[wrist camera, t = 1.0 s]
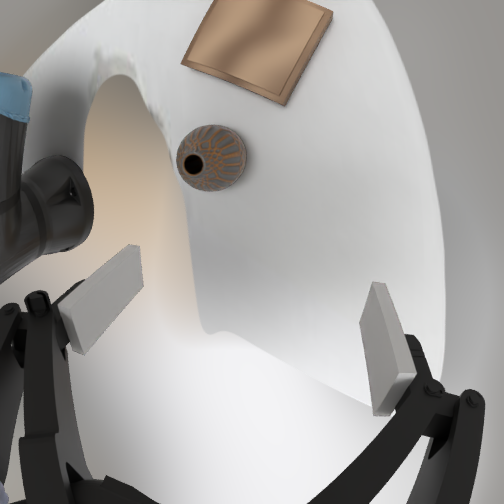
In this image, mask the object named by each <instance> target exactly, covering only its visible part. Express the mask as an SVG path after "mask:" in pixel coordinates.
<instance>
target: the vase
mask: <svg viewBox="0 0 504 504" xmlns="http://www.w3.org/2000/svg"><path fill="white" fill-rule="evenodd" d="M176 162H177V168H178V171H179V173H180V175H181V177H182V178H183V180H184V181H185V182H186V183H187V184H189V185H190V186H192V187H193V188H195V189H198V190H201V191H218V190H222V189H225V188H227V187H228V186H230V185H231V184H233V183H234V182H235V181H236V180H237V179H238V178H239V177H240V175H241V174H242V172H243V170H244V167H245V164H246V150H245V146H244V144H243V142H242V140H241V139H240V137H239V136H238V135H237V134H236V133H235V132H234V131H232V130H231V129H229V128H226V127H223V126H219V125H206V126H202V127H199V128H197V129H195V130H193V131H192V132H190V133H189V134H188V135H187V136H186V137H185V138H184V139H183V141H182V142H181V144H180V146H179V148H178V151H177V157H176Z"/></svg>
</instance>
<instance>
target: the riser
mask: <svg viewBox="0 0 504 504" xmlns="http://www.w3.org/2000/svg"><path fill="white" fill-rule="evenodd" d="M332 17H333V11H331V10H329V9H327V8H324V7H322V6H320V5H317V4H315V3H312V2H310V1H307V0H214V1H213V2H212V4H211V6H210V8H209V9H208V11H207V13H206V15H205V17H204V18H203V20H202V22H201V24H200V26H199V28H198V30H197V32H196V33H195V35H194V37H193V39H192V41H191V43H190V45H189V47H188V49H187V51H186V53H185V55H184V58H183V60H182V62H181V64H182V65H184V66H187V67H190V68H193V69H196V70H198V71H201V72H204V73H207V74H210V75H212V76H215V77H218V78H220V79H223V80H225V81H228V82H230V83H233V84H235V85H238V86H240V87H243V88H245V89H247V90H250V91H252V92H254V93H257V94H259V95H261V96H263V97H266V98H268V99H270V100H272V101H274V102H277V103H279V104H281V105H283V106H285V105H286V104H287V102H288V100H289V98H290V96H291V94H292V92H293V90H294V88H295V86H296V85H297V83H298V81H299V79H300V77H301V75H302V73H303V71H304V69H305V68H306V66H307V64H308V62H309V60H310V58H311V57H312V55H313V53H314V51H315V49H316V47H317V46H318V44H319V42H320V40H321V38H322V36H323V35H324V33H325V31H326V29H327V28H328V26H329V24H330V22H331V20H332Z"/></svg>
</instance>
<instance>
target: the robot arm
mask: <svg viewBox="0 0 504 504" xmlns="http://www.w3.org/2000/svg"><path fill="white" fill-rule="evenodd" d="M31 97H32V85H31V83H30V82H29V80H28V79H26V78H24V77H22V76H18V75H13V74H8V73H2V72H0V284H1V283H3V282H4V281H5V280H7V279H8V278H10V277H11V276H12V275H14V274H15V273H16V272H18V271H19V270H21V269H22V268H23V267H25V266H26V265H28V264H29V263H30V262H32V261H33V260H35V259H36V258H38V257H40V256H41V255H47V254H53V253H57V252H66V251H69V250H72V249H74V248H75V247H77V246H78V245H80V244H81V243H83V242H84V241H85V240H86V238H87V237H88V236H89V234H90V231H91V229H92V225H93V219H94V204H93V198H92V193H91V190H90V187H89V184H88V182H87V180H86V178H85V176H84V174H83V172H82V171H81V170H80V168H79V167H78V166H77V165H76V164H75V163H74V162H73V161H71V160H70V159H68V158H66V157H64V156H51V157H48V158H44V159H42V160H40V161H38V162H37V163H35V164H34V165H33V166H32V167H31V168H30V169H28V170H27V171H26V172H25V173H23V174H22V175H21V173H22V161H23V152H24V144H25V136H26V130H27V123H29V121H30V117H29V110H30V103H31ZM142 288H143V277H142V266H141V257H140V246H136V245H130V244H129V245H127V246H126V247H125V248H124V249H122V250H121V251H120V252H119V253H117V254H116V255H115V256H114V257H112V258H111V259H110V260H109V261H107V262H106V263H105V264H104V265H103V266H101V267H100V268H99V269H98V270H97V271H95V272H94V273H93V274H92V275H91V276H90V277H88V278H87V279H86V280H85V279H84V280H81V281H79V282H77V283H75V284H74V285H73V286H72V287H71V288H70V289H69V290H67V291H66V292H65V293H64V294H63V295H62V296H60V297H59V298H58V299H57V300H56V301H55V302H54V303H53V304H51V303H50V299H49V296H48V293H47V292H46V291H41V290H38V291H34V292H32V293H30V294H28V295H27V296H26V297H25V299H24V302H25V305H26V308H27V310H28V312H21V309H20V307H19V305H18V304H17V303H8V304H6V305H4V306H3V307H2V308H1V309H0V504H7V503H8V501H9V497H8V495H7V494H6V493H5V490H4V487H3V486H4V483H5V479H6V476H7V471H8V465H9V459H10V452H11V445H12V439H13V433H14V428H15V424H16V419H17V414H18V410H19V405H20V401H21V397H22V393H23V389H24V426H25V436H24V437H20V439H19V455H20V464H21V472H22V479H23V486H24V491H25V497H26V499H25V500H21V501H18V502H14V503H10V504H159V503H157V502H155V501H154V500H152V499H150V498H149V497H147V496H146V495H144V494H143V493H141V492H139V491H138V490H137V489H135V488H134V487H132V486H130V485H127V484H125V483H122V482H120V481H118V480H116V479H114V478H111V477H109V476H107V475H106V476H105V478H104V480H97V479H93V478H92V476H91V474H90V472H89V470H88V468H87V466H86V462H85V458H84V454H83V450H82V445H81V441H80V436H79V432H78V427H77V421H76V416H75V410H74V404H73V398H72V391H71V383H70V374H69V366H68V365H69V364H68V353H67V349H66V345H67V344H68V343H69V342H70V344H71V347H72V350H73V351H75V352H77V353H79V354H82V355H85V354H86V353H87V352H88V351H89V349H90V348H91V347H92V346H93V345H94V343H95V342H96V341H97V340H98V339H99V337H100V336H101V335H102V334H103V333H104V331H105V330H106V329H107V328H108V327H109V326H110V324H111V323H112V322H113V321H114V320H115V319H116V317H117V316H118V315H119V314H120V313H121V312H122V310H123V309H124V308H125V307H126V306H127V305H128V304H129V302H130V301H131V300H132V299H133V298H134V296H135V295H136V294H137V293H138V292H139V291H140V290H141V289H142ZM359 324H360V329H361V335H362V340H363V346H364V352H365V358H366V365H367V371H368V378H369V385H370V392H371V400H372V408H373V416H390V415H391V413H392V412H393V411H394V409H395V410H396V414H395V415H394V416H393V417H392V419H391V420H390V421H389V422H388V423H387V425H386V426H385V427H384V428H383V429H382V431H381V432H380V433H379V434H378V435H377V436H376V438H375V439H374V440H373V441H372V442H371V443H370V444H369V445H368V446H367V447H366V448H365V450H364V451H363V452H362V453H361V454H360V455H359V456H358V457H357V458H356V459H355V460H354V461H353V462H352V463H351V464H350V465H349V466H348V467H347V468H346V469H345V470H344V471H343V472H342V473H341V474H340V475H339V476H338V477H337V478H336V479H335V480H334V481H332V483H330V484H329V485H328V486H327V487H326V488H325V489H324V490H323V491H321V492H320V493H319V494H318V495H317V496H316V497H314V498H313V499H312V500H311V501H310V502H309V503H307V504H369V503H370V502H371V501H372V499H373V498H374V497H375V496H376V495H377V494H378V493H379V491H380V490H381V489H382V488H383V487H384V485H385V484H386V483H387V482H388V481H389V479H390V478H391V477H392V476H393V474H394V473H395V471H397V469H398V468H399V467H400V465H401V464H402V463H403V461H404V460H405V459H406V457H407V456H408V454H409V453H410V452H411V450H412V449H413V447H414V446H415V444H416V443H417V441H418V440H419V438H420V437H421V435H424V436H428V437H430V440H429V443H428V446H427V450H426V453H425V456H424V459H423V462H422V465H421V468H420V471H419V473H418V476H417V479H416V481H415V484H414V486H413V489H412V491H411V494H410V496H409V499H408V501H407V503H406V504H469V502H470V498H471V494H472V490H473V485H474V481H475V477H476V472H477V467H478V462H479V456H480V449H481V442H482V434H483V426H484V415H485V400H484V398H483V397H482V395H481V394H480V393H479V392H477V391H475V390H472V389H468V390H465V391H464V392H463V393H462V394H461V395H460V396H457V395H453V394H449V393H447V392H445V388H444V387H443V385H442V384H441V383H440V382H439V381H437V380H435V379H433V378H432V375H431V372H430V369H429V366H428V363H427V360H426V358H425V355H424V352H423V349H422V347H421V344H420V342H419V341H418V340H417V338H416V337H415V336H414V335H409V334H404V332H403V329H402V326H401V323H400V321H399V318H398V315H397V312H396V310H395V307H394V304H393V302H392V299H391V297H390V294H389V291H388V289H387V286H386V284H385V283H378V282H372V285H371V288H370V291H369V295H368V298H367V301H366V304H365V307H364V310H363V313H362V316H361V319H360V322H359ZM11 344H12V347H11Z"/></svg>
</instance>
